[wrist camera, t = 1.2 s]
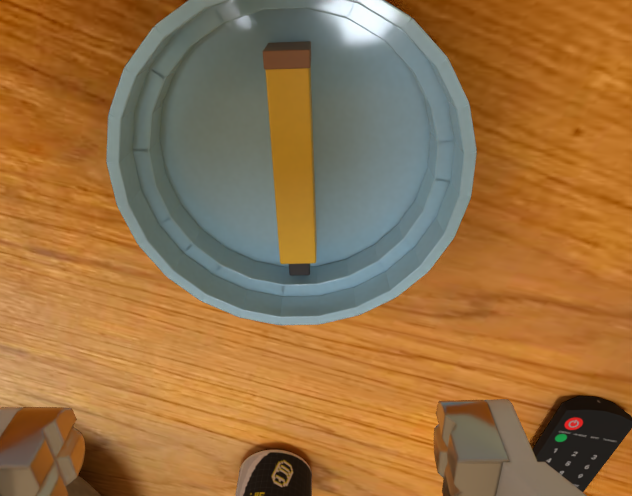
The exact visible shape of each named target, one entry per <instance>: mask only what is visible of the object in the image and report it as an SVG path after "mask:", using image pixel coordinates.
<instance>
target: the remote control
mask: <svg viewBox="0 0 632 496" xmlns="http://www.w3.org/2000/svg"><path fill="white" fill-rule="evenodd" d="M631 428H632V417H631V416H630V415H629V414H628V413H626V412H625V411H624V410H622V409H621V408H620V407H618V406H617V405H616V404H614V403H613V402H610V401H607V400H604V399H601V398H598V397H590V396H578V397H575V398H573V399H570V400H568V401H566V402H563V403H562V404H561V406H560V407H559V409H558V410H557V412H556V414H555V415H554V417H553V418H552V420H551V421H550V423H549V424H548V426H547V428H546V429H545V431H544V432H543V434H542V435H541V437H540V438H539V440H538V441H537V443H536V445H535V446H534V448H533V449H532V450H533V452H534V455H535V457H536V459H537V462H546V463H547V464H548V465H549V466H550V467H552V468H553V469H554V470H555V471H557V472H558V473H559V474H560V475H562V476H563V477H564V478H565V479H567V480H568V481H569V482H570V483H572V484H573V485H574V486H575V487H577V488H578V489H579V490H580V491H582V492H583V491H584V490H585V489H586V488H587V486H588V485H589V484H590V482H591V481H592V480H593V478H594V477H595V476H596V474H597V473H598V472H599V470H600V469H601V468H602V467H603V465H604V464H605V463H606V461H607V460H608V459H609V457H610V456H611V455H612V453H613V452H614V451H615V449H616V448H617V447H618V446H619V444H620V443H621V442H622V440H623V439H624V438H625V436H626V435H627V434H628V432H629V431H630V430H631Z"/></svg>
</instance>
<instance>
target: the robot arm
mask: <svg viewBox="0 0 632 496" xmlns="http://www.w3.org/2000/svg"><path fill="white" fill-rule="evenodd" d="M436 415H437V419H438V423H439V424H438V425H437V426H436V427H435V428H434V455H435V461H436V466H437V471H438V473H439V474H440V475H441V476H442V477H443V478H444V480H443V488H442V493H443V496H587V495H585V494H584V493H583V492H582V491H580V490H579V489H578V488H577V487H575V486H574V485H573V484H572V483H570V482H569V481H568V480H567V479H565V478H564V477H563V476H562V475H560V474H559V473H558V472H557V471H555V470H554V469H553V468H552V467H550V466H549V465H548V464H547V463H546V462H537V459H536V457H535V455H534V452H533V450H532V448H531V446H530V443H529V441H528V439H527V437H526V434H525V432H524V430H523V428H522V425H521V423H520V421H519V418H518V416H517V414H516V412H515V409H514V407H513V405H512V403H511V402H510V401H509V400H508V399H500V400H459V401H439V402H438V405H437V411H436ZM76 420H77V419H76V417H75V414H74V412H73V410H72V409H71V408H57V407H23V408H16V407H2V408H0V496H68V492H67V489H66V486H67V485H68V484H69V483H71V482H72V481H73V480H74V479H76V478H77V477H78V474H79V472H80V470H81V468H82V466H83V461H84V456H85V441H84V438H83V435H82V433H81V432H79V431H78V430H77V429H75V428H74V427H73V425H74V423H75V421H76Z"/></svg>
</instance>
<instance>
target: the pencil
mask: <svg viewBox="0 0 632 496" xmlns="http://www.w3.org/2000/svg"><path fill="white" fill-rule="evenodd" d="M263 65H264V69H265V72H266V85H267V98H268V111H269V124H270V137H271V150H272V164H273V177H274V190H275V203H276V216H277V229H278V242H279V255H280V263H281V264H289V275H291V276H294V275H310V263H316V253H317V234H316V205H315V177H314V148H313V119H312V90H311V42H310V41H307V42H276V43H268V44H267V46H266V47H265V49H264V50H263Z"/></svg>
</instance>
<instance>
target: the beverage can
mask: <svg viewBox="0 0 632 496" xmlns="http://www.w3.org/2000/svg"><path fill="white" fill-rule="evenodd" d="M236 496H312V472H311V469H310V467H309V465H308V464H307V462H306V461H305V460H304V459H302V458H301V457H299V456H298V455H296V454H294V453H291V452H288V451H284V450H264V451H260V452H257V453H255V454H253V455H251V456H250V457H248V458H247V459H246V460H245V461H244V462H243V463H242V465H241V467H240V471H239V477H238V483H237V489H236Z"/></svg>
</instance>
